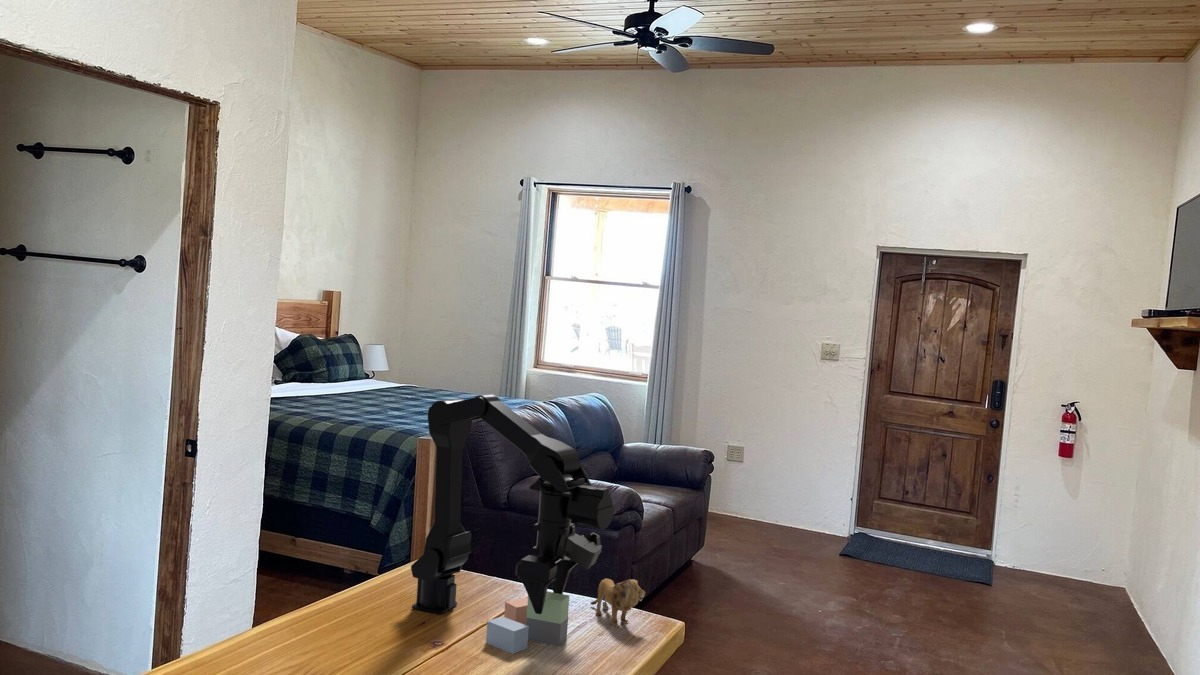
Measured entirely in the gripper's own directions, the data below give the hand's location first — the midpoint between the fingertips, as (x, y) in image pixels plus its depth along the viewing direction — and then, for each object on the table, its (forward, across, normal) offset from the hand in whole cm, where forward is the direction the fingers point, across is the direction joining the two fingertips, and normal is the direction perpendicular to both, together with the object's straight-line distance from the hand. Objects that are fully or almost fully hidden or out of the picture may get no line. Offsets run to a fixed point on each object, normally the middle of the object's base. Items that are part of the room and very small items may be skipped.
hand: (548, 605), depth 164 cm
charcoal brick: (+6, 0, 0) cm, 6 cm away
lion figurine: (+6, +17, -8) cm, 19 cm away
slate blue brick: (+6, -6, +5) cm, 10 cm away
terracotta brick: (+6, +6, +7) cm, 11 cm away
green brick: (+2, 0, 0) cm, 2 cm away
